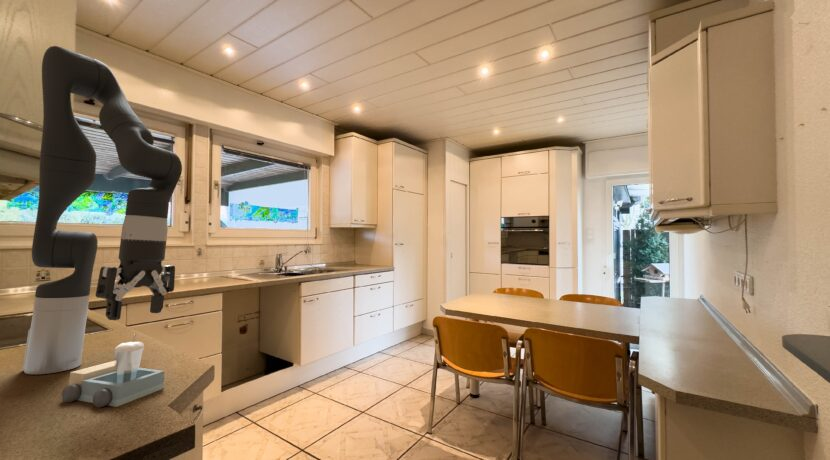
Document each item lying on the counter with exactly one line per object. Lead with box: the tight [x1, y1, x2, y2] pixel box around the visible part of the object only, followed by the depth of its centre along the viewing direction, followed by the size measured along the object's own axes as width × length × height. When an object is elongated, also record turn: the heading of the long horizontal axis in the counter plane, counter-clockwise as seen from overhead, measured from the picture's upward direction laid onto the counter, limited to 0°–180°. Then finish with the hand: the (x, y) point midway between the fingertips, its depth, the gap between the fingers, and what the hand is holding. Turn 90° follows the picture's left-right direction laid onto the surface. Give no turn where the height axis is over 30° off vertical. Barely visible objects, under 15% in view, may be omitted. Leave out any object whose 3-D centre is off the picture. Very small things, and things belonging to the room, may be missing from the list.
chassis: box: [61, 360, 165, 408], centre depth 67 cm, size 13×11×5 cm
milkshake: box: [114, 333, 145, 384], centre depth 68 cm, size 5×5×10 cm
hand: (135, 316), depth 69 cm, fingers open, 8 cm apart
